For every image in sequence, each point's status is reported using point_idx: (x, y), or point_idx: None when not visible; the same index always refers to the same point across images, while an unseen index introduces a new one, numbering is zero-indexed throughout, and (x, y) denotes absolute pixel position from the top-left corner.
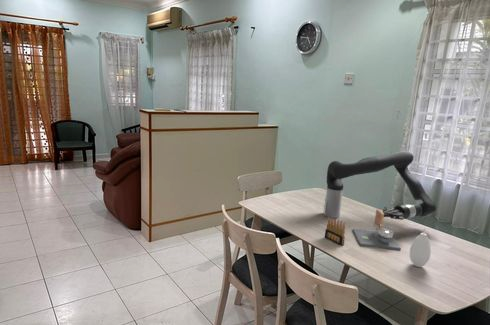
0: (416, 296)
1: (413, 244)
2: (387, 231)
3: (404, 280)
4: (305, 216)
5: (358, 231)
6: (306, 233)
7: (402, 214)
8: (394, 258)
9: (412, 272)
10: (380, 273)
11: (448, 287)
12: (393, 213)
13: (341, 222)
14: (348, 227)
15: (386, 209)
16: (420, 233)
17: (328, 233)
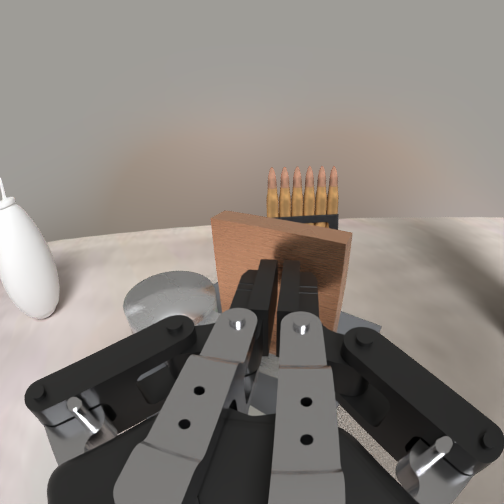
0: (63, 241)
1: (40, 232)
2: (158, 299)
3: (79, 254)
4: (488, 265)
5: (343, 328)
6: (366, 226)
7: (51, 475)
8: (109, 300)
9: (61, 282)
10: (125, 240)
11: (4, 289)
12: (165, 348)
13: (282, 170)
14: (417, 339)
15: (426, 448)
16: (13, 197)
17: (325, 225)
